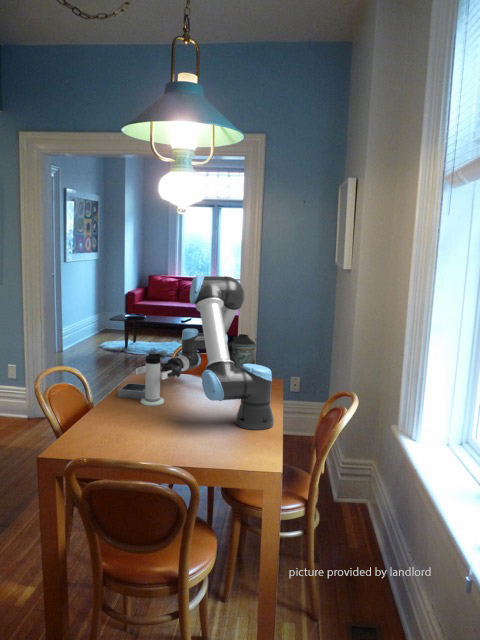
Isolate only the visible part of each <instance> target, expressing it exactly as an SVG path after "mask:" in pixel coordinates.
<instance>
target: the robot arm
mask: <svg viewBox="0 0 480 640" xmlns="http://www.w3.org/2000/svg"><path fill="white" fill-rule="evenodd" d="M189 302H190V304H191V305H195V309H196V311H198V312H200V319H201V320H200V321H201V325H202V331H203V332H199V330H198V329H197V328H184V329H182V332H181V333H182V335H181V355H178V356H175V357H171V358H169V359H168V360H167V361H166V362H164V363H162V362H161V361H160V380H161V381H162V380H166V379H169V378H172V377H177V378H179V377H181V374H182V373H183V372H185V371H188V370H192V369H195V368H197V367H198V366H200V365H201V362H202V358H201V355H200V354H199V353H198V349H205V350H206V352H205V353H206V358H207V365H206V366H205V368H204V369H205V370H203V372H202V374H201V380H202V381H201V386H202V389H203V393H204V395H205V397H206V398H207V399H208V400H209V401H213V402H214V401H215V402H217V401H219V402H222V401H232V400H233V401H234V400H240V403H239V406H238V410H237V412H236V415H235V425H236V426H239V427H240V428H242V429H247V430H253V431H255V430H256V431H258V430H260V431H261V430H268V429H270V428H272V427H274V425H275V424H274V423H275V422H274V421H275V419H274V415H273V411H272V406H271V397H272V382H273V377H272V376H273V375H272V374H273V373H272V370H271V369H270V368H269V367H267V366H264V365H260V364H243V366H242V369H236V368H235V364H234V362H233V361H231V360H230V357H229V352H228V341H229V337H228V334H227V333H228V332H229V329H230V327H231V325H232V322H233V320H234V319H235V316H236V314H237V312H238V310H240V309H241V308H242V307H243V304H244V302H245V291H244V287H243V285H242V284H241V283H240V282H239V280H237V279H235V278H234V277H231V276H210V275H209V276H207V275H197V276H195V277H193V278H192V281H191V284H190V288H189ZM144 373H145V374H146V363H143V364H141V366H140V367H136V368H135V375H136V376H138V375H140V374H144Z"/></svg>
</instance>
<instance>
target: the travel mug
mask: <svg viewBox="0 0 480 640" xmlns="http://www.w3.org/2000/svg"><path fill="white" fill-rule="evenodd" d="M160 362H161V353H153V354H148V355H146V356H145V364H146V372H145V383H144V384H145V400H146V401H149V402H156V401H159V400H160V397H161V371H160Z"/></svg>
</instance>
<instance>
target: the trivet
mask: <svg viewBox="0 0 480 640" xmlns="http://www.w3.org/2000/svg"><path fill="white" fill-rule="evenodd" d="M140 404H141V405H144V406H146V407H157V406H162V405H164V404H165V398H163V397H161V396H160V400H159V401H156V402H149V401H146V400H145V397H144V398H142V399H140Z"/></svg>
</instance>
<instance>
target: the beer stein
mask: <svg viewBox="0 0 480 640" xmlns="http://www.w3.org/2000/svg"><path fill="white" fill-rule="evenodd" d="M227 346H228V352H229V357H230V360H231V361H233V362H234V364H235V368H236V369H242V366H243V364H256V356H255V355H256V353H255V349H256V347H257V344H256V342H255V341H254V340H252V339H251V338H250V337H249V335H248V334H245V333H243V334H242V333H241V334H240V333H239V334H238V335H237V336H236V335H235V336H233V337H232V338H231V341H229V343H228V344H227ZM256 365H257V364H256Z"/></svg>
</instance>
